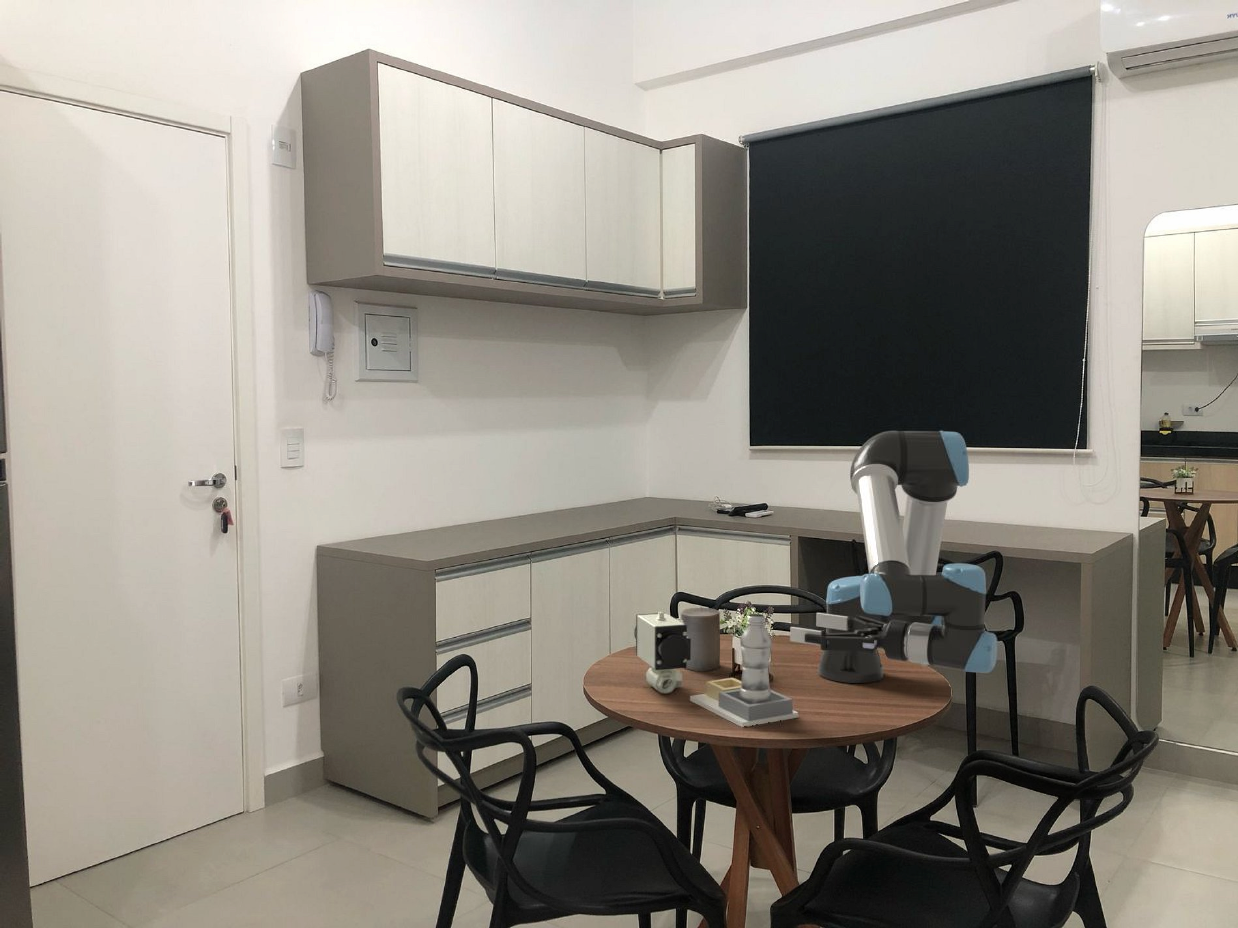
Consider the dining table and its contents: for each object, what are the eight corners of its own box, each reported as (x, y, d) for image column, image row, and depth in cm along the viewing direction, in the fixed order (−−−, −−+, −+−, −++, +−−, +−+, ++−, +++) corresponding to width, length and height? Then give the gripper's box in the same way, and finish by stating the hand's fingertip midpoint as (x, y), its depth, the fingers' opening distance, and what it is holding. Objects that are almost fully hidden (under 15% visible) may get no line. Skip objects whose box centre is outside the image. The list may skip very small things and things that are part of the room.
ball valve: (695, 698, 217) (696, 619, 216) (659, 702, 214) (659, 621, 213) (666, 677, 234) (667, 603, 233) (632, 680, 231) (633, 605, 230)
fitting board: (743, 691, 222) (743, 674, 222) (798, 717, 204) (798, 698, 204) (690, 700, 216) (690, 682, 215) (742, 727, 198) (742, 707, 198)
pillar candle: (720, 661, 248) (719, 602, 247) (720, 671, 238) (719, 610, 238) (681, 660, 249) (681, 602, 248) (679, 671, 239) (679, 610, 239)
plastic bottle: (737, 705, 209) (738, 611, 208) (769, 705, 209) (770, 612, 208) (739, 714, 203) (740, 618, 201) (772, 715, 202) (774, 618, 201)
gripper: (888, 678, 177) (778, 659, 189) (927, 645, 198) (826, 631, 209) (889, 637, 176) (779, 621, 188) (928, 609, 197) (827, 596, 209)
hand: (804, 626), depth 199 cm, fingers open, 13 cm apart
